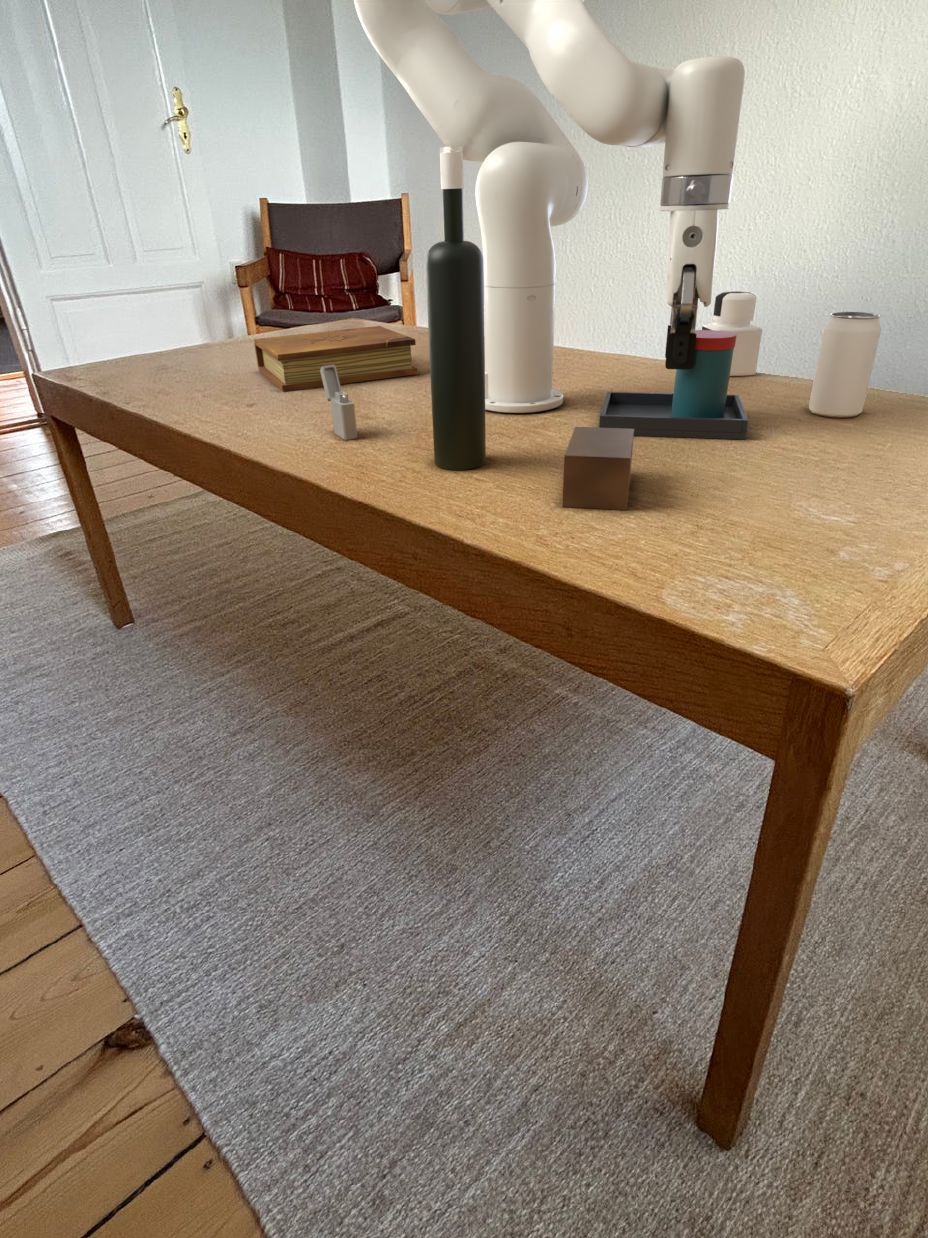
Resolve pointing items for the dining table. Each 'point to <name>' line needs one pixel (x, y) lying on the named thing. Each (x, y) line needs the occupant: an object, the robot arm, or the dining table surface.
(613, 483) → the block
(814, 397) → the can
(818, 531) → the dining table surface
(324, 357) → the diary
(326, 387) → the lighter
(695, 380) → the container
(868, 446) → the dining table surface
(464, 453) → the wine bottle
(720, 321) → the medicine bottle
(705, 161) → the robot arm
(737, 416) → the tray
